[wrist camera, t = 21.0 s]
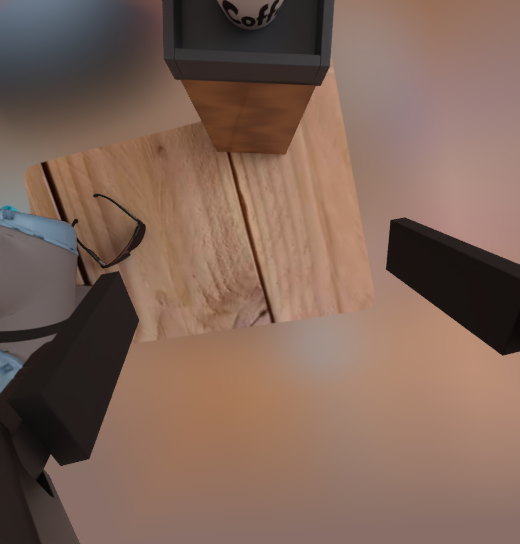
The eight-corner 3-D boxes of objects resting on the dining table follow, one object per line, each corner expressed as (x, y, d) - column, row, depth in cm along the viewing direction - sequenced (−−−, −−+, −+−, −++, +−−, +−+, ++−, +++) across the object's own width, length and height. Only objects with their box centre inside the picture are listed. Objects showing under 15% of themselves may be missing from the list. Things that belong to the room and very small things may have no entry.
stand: (217, 151, 48) (178, 76, 24) (217, 75, 46) (175, -94, 22) (285, 154, 49) (317, 82, 24) (288, 79, 46) (327, -85, 22)
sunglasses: (122, 273, 51) (105, 275, 46) (74, 230, 51) (52, 228, 46) (157, 230, 50) (143, 228, 45) (108, 186, 50) (89, 179, 45)
